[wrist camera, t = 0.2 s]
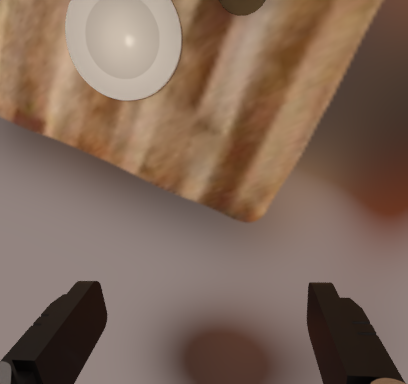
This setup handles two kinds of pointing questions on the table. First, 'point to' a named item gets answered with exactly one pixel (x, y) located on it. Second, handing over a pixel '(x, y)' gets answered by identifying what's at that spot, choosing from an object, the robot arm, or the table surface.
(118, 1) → the cream plate
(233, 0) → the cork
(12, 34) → the table surface
